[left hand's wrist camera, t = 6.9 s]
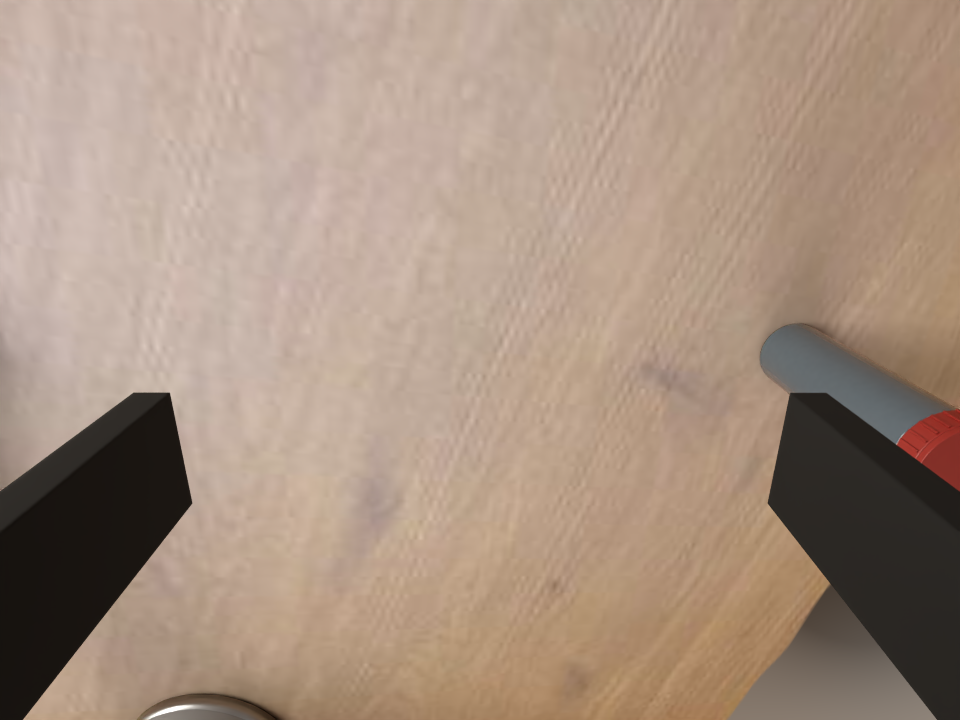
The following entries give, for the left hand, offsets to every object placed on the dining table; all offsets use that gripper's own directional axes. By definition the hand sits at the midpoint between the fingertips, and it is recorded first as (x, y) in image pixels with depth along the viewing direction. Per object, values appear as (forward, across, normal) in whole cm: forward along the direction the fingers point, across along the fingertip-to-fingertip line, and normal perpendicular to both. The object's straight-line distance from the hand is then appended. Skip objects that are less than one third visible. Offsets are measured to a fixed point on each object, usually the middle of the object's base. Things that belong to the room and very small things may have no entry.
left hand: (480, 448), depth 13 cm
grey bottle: (+26, -21, +8) cm, 35 cm away
